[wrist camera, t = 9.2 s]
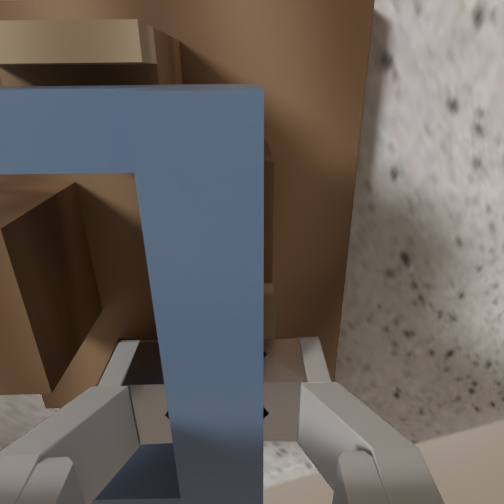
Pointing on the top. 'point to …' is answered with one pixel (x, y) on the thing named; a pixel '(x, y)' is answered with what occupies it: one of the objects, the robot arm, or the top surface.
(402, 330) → the top surface
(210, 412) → the blue stepped bracket
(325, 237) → the stand
